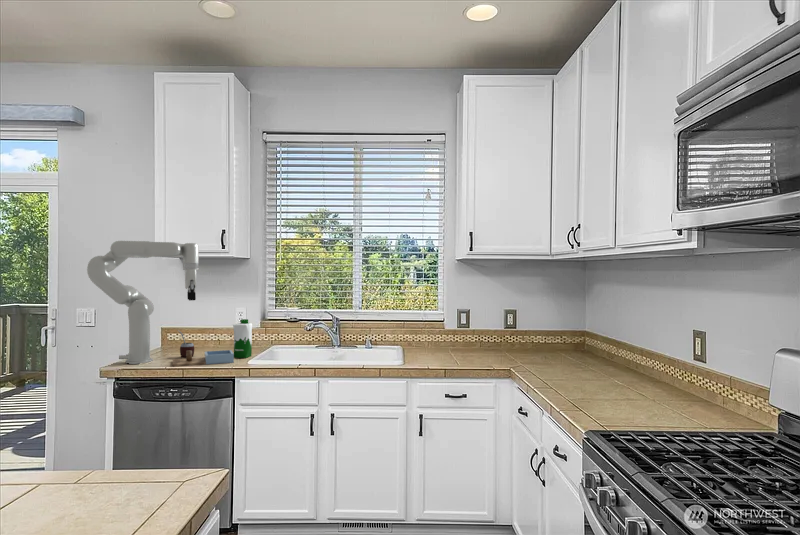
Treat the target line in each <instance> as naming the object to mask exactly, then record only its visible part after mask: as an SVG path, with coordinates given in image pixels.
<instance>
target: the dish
mask: <svg viewBox="0 0 800 535" xmlns="http://www.w3.org/2000/svg"><path fill="white" fill-rule="evenodd" d="M204 358H205V361H206V364H205V365H218V364H230V363H231V364H232V363H233V364H234V360H235V357H234V351H233V350H232V349H224V350H209V351H204Z"/></svg>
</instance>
